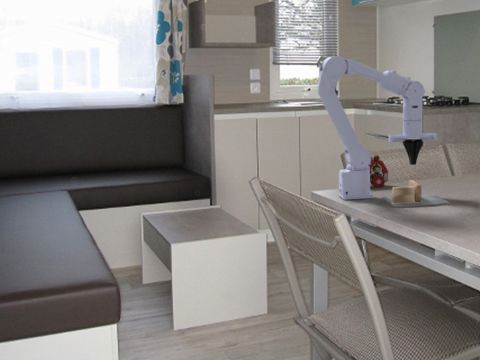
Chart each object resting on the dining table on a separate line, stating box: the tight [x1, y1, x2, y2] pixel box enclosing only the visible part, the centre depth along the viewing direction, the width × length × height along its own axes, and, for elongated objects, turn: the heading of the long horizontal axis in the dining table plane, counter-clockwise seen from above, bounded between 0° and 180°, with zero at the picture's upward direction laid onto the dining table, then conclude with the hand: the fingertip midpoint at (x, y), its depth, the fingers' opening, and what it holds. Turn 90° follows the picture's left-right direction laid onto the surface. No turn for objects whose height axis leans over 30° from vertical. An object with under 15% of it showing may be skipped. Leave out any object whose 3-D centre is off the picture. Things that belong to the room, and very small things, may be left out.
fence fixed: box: [391, 184, 422, 203], centre depth 205 cm, size 8×2×5 cm, turn 93°
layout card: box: [381, 193, 451, 208], centre depth 209 cm, size 16×14×1 cm
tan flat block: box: [408, 179, 420, 187], centre depth 210 cm, size 8×1×4 cm, turn 178°
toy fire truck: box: [368, 155, 389, 189], centre depth 237 cm, size 7×12×10 cm, turn 91°
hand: (412, 164), depth 219 cm, fingers closed
